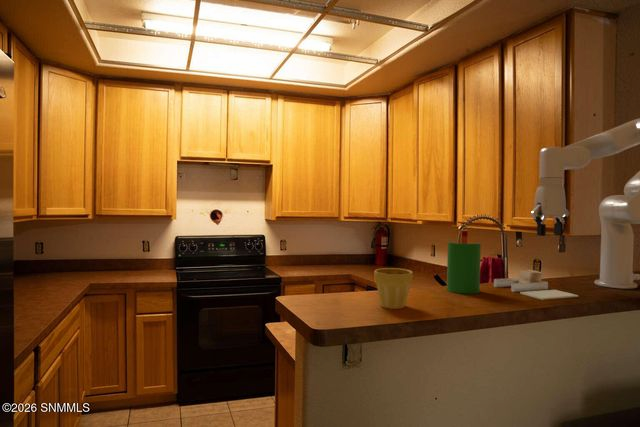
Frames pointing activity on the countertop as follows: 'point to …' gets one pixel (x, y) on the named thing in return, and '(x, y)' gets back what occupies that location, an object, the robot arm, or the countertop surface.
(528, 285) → the housing channel
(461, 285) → the green cylinder
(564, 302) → the countertop surface
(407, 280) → the plant pot
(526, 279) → the plug block
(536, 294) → the pad
